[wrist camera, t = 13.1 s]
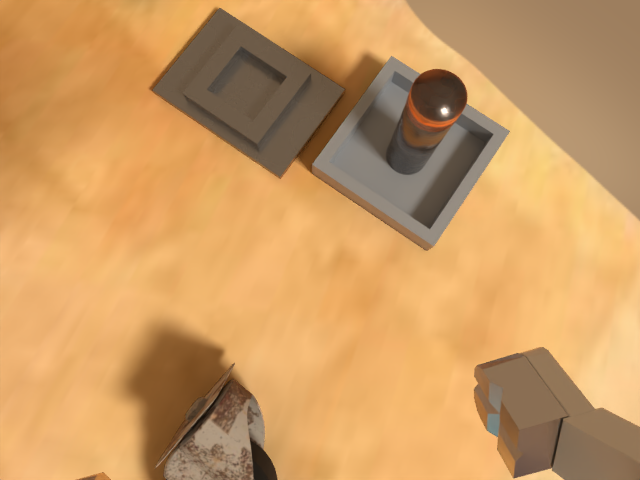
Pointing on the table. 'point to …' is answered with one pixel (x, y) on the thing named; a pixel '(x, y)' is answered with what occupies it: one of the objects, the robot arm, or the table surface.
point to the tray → (397, 189)
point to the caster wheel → (220, 438)
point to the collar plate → (249, 92)
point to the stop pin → (425, 119)
